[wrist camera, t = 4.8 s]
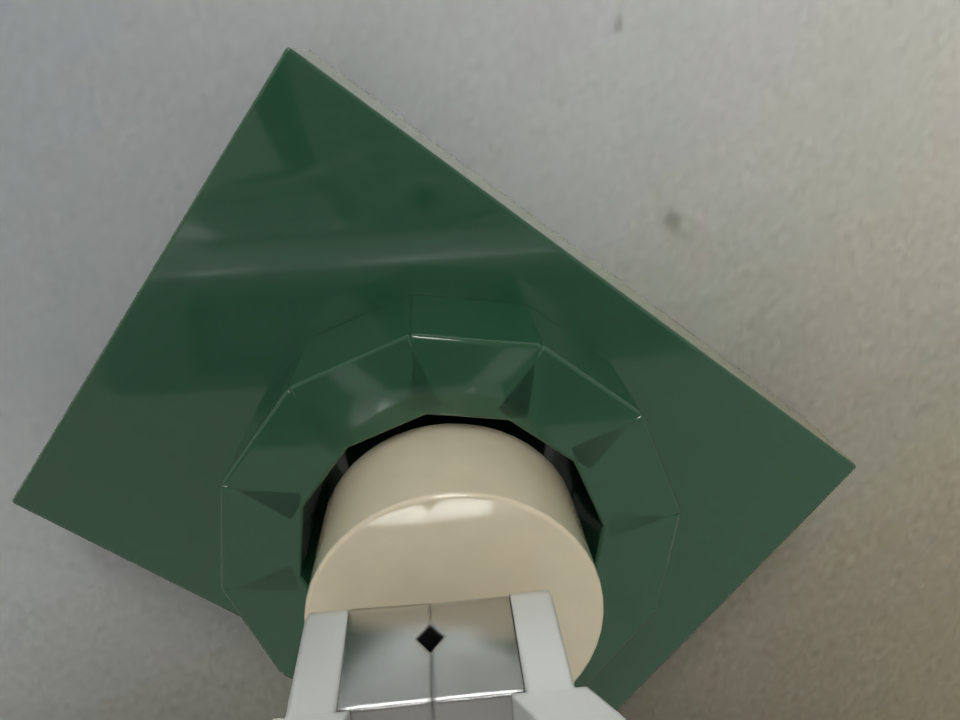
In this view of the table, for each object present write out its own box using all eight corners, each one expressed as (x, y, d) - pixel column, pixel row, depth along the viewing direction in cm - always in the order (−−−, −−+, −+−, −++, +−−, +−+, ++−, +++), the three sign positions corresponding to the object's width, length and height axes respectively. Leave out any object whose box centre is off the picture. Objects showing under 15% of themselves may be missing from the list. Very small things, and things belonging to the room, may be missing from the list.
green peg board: (61, 447, 15) (-60, 576, 11) (307, 47, 13) (258, 41, 9) (541, 701, 18) (571, 867, 14) (807, 419, 16) (925, 529, 12)
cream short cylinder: (273, 565, 12) (246, 660, 10) (419, 372, 11) (417, 437, 9) (478, 673, 13) (486, 777, 11) (627, 506, 12) (666, 589, 10)
